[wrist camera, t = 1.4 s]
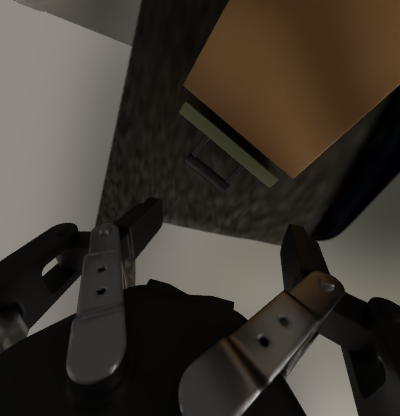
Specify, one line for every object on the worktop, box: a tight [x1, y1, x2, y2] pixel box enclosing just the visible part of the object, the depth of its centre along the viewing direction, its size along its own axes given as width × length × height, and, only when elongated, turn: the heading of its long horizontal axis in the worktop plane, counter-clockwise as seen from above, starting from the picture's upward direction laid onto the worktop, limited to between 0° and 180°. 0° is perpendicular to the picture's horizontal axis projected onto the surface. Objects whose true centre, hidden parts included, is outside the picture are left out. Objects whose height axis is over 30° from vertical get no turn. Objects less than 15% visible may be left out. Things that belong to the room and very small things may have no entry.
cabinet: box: [183, 0, 400, 179], centre depth 18 cm, size 15×13×10 cm
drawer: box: [179, 101, 279, 193], centre depth 21 cm, size 18×11×8 cm, turn 144°
